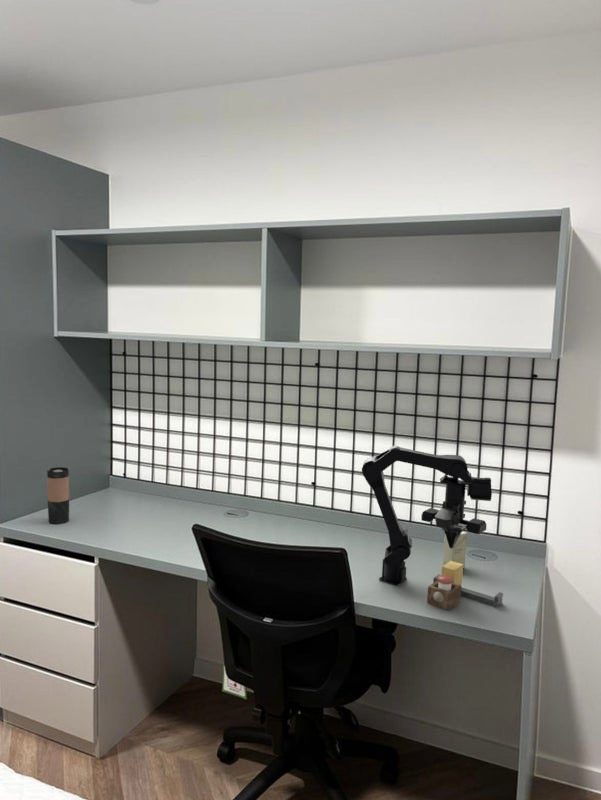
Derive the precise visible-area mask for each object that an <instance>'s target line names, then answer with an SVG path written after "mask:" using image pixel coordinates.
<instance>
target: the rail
mask: <svg viewBox="0 0 601 800" xmlns="http://www.w3.org/2000/svg"><path fill="white" fill-rule="evenodd" d="M439 575H441V573H438V574H437V575H435V576H434V577H433V578H432V579H433V582H432V583H434V582H435V581H437V578H438V576H439ZM461 597H464V598H467V599H470V600H473V601H476V600H477V601H478V602H480V603H483V604H486V605H489V606H493V608H499V607H500V606H501V605H503V597H504V593H503V592H500V591H499V592H498V593H497V594H495V596H492V595H488V594H485V593H482V592H478V591H476V590H475V591H474V590H472V589H469V588H466V587H462V586H461Z"/></svg>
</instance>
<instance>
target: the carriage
mask: <svg viewBox="0 0 601 800" xmlns="http://www.w3.org/2000/svg"><path fill="white" fill-rule="evenodd" d="M463 570H464V569H463V564H460V563H456V562H453V561H450V562H448V563H447V564H445V565H444V566H443V565H442V567H441V575H449V576H451V577H453V583H454V584H457V585H461V586H462V584H463V572H464V571H463Z"/></svg>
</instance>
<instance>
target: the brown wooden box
mask: <svg viewBox="0 0 601 800" xmlns="http://www.w3.org/2000/svg"><path fill="white" fill-rule="evenodd" d="M438 585H439V581H438V580H437V581H435V582H434V583H433V582H432V583H431V584H430V585H428V586H427V598H426V603H427V604H428V605H432V606H435V607H438V608H440V609H443V610H447V611H449V612H450V611H451V610H452V609H454V608H455V607H456V606H458V605H459V604H460V603H461V599H462V596H461V587H462V585H457V584H454V583H452V584H451V590H450V591H446V590H443V589H440V588H438Z"/></svg>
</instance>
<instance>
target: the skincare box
mask: <svg viewBox="0 0 601 800" xmlns="http://www.w3.org/2000/svg"><path fill="white" fill-rule="evenodd" d="M467 536H468V532H467V531H465V530H464V531H462V533H461V534H460V536H459V538H458V540H457V542H456V544H455V546H454V548H449V544H448V541H447V537H446V534H445V533H444V540H443V553H442V555H443V557H442V566H444V565H445V564H447V563H448V562H450V561H453V562H456V563H460V564H463V568H464V569H465V567H466V553H467V552H466V549H467Z"/></svg>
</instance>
